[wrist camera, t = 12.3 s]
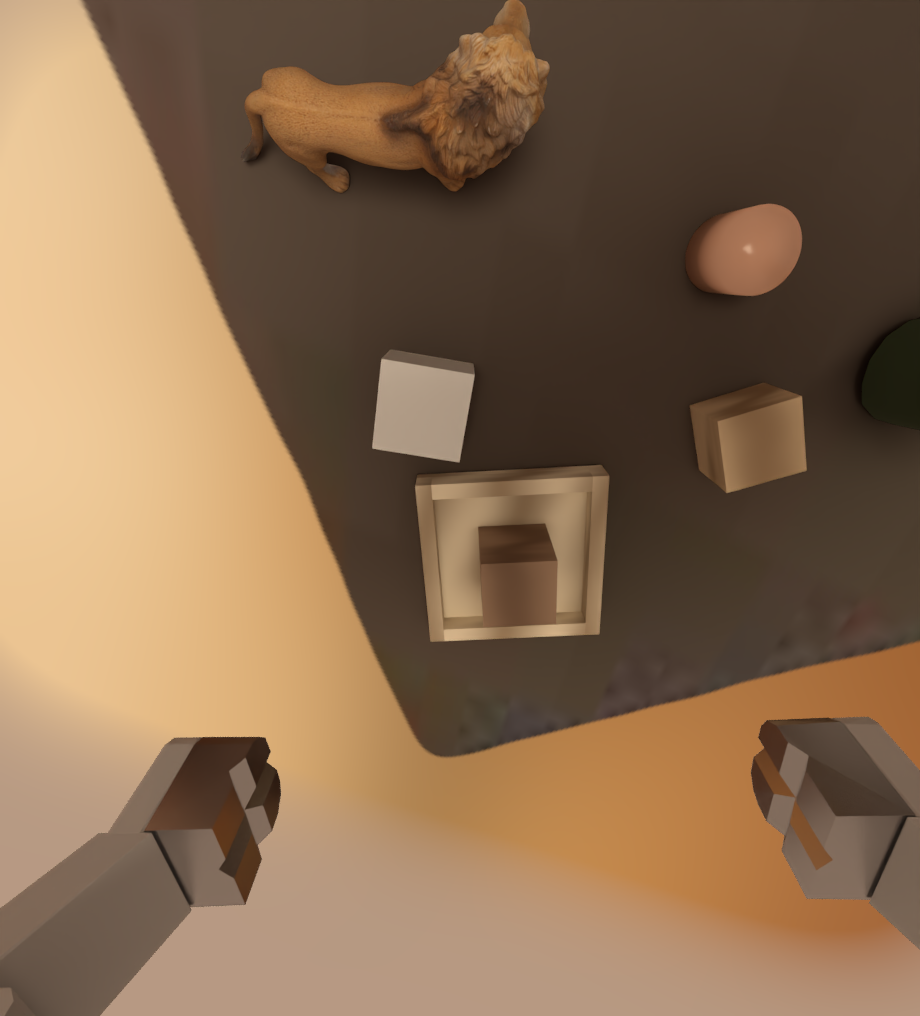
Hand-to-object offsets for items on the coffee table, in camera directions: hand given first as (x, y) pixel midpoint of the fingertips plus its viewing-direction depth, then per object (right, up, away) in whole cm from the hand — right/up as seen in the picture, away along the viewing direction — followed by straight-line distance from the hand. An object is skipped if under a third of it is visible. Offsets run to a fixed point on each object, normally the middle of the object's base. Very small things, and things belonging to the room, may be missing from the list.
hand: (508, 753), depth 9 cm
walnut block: (+3, +1, +27) cm, 27 cm away
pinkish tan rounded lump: (+14, +18, +20) cm, 30 cm away
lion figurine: (-4, +23, +18) cm, 30 cm away
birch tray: (+3, +1, +28) cm, 28 cm away
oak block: (+16, +9, +24) cm, 31 cm away
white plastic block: (-3, +11, +24) cm, 26 cm away
